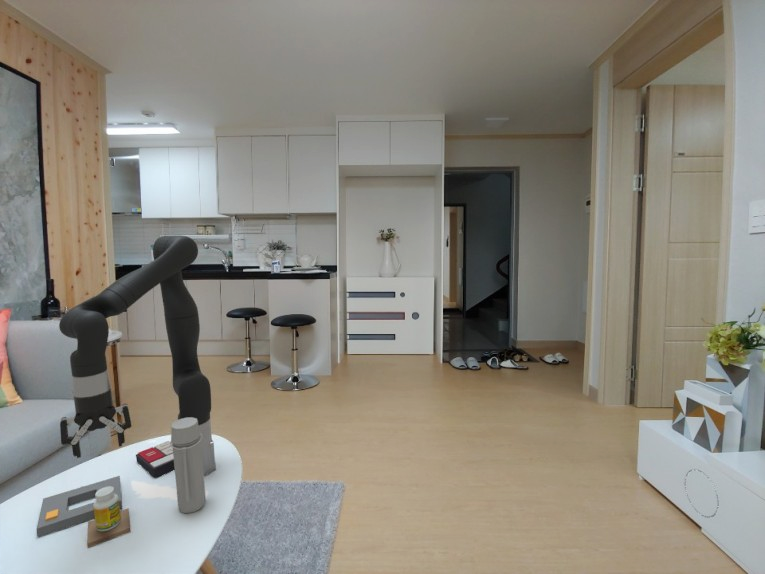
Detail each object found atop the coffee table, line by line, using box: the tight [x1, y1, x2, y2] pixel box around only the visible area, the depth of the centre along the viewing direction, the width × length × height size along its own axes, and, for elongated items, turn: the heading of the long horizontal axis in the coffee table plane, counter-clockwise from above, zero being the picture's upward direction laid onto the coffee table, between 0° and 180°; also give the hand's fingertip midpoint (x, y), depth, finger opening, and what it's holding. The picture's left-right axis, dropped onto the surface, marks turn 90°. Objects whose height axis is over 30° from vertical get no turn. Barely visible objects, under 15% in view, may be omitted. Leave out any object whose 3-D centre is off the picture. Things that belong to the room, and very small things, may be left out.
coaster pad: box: [86, 507, 132, 549], centre depth 104 cm, size 9×9×1 cm
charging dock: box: [36, 475, 123, 538], centre depth 111 cm, size 18×14×3 cm
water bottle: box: [170, 417, 207, 514], centre depth 109 cm, size 9×8×25 cm
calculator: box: [135, 440, 175, 480], centre depth 133 cm, size 11×4×15 cm
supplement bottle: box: [93, 486, 121, 532], centre depth 103 cm, size 5×5×10 cm
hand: (100, 450), depth 101 cm, fingers open, 8 cm apart
